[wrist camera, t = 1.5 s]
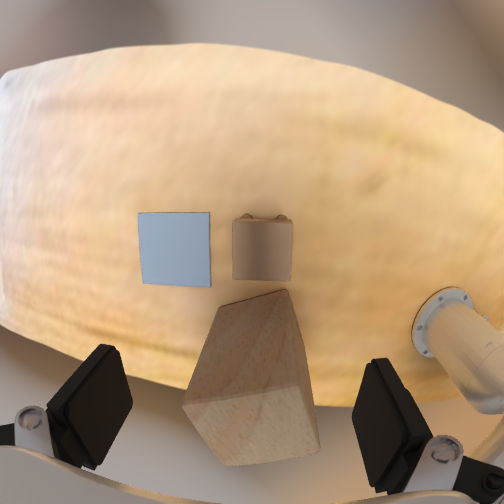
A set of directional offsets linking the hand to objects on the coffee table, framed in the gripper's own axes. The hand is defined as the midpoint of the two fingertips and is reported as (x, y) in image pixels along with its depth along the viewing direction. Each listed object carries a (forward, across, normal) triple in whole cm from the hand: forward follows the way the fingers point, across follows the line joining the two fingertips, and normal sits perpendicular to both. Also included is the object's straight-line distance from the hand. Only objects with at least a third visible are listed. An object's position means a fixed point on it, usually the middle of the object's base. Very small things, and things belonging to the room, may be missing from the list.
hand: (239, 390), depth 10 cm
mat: (+29, +12, +2) cm, 31 cm away
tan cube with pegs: (+28, 0, 0) cm, 29 cm away
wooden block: (+29, -1, +13) cm, 32 cm away
